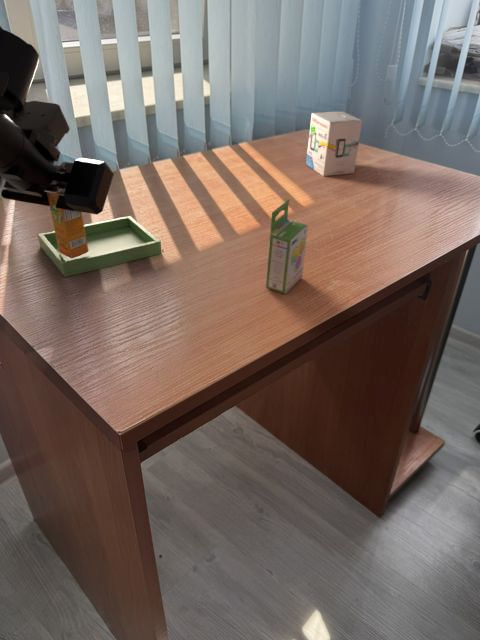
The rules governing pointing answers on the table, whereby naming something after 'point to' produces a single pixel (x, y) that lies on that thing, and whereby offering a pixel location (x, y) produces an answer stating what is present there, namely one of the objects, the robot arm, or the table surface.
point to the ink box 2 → (333, 143)
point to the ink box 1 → (285, 251)
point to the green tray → (104, 246)
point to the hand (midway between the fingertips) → (71, 206)
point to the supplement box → (68, 229)
